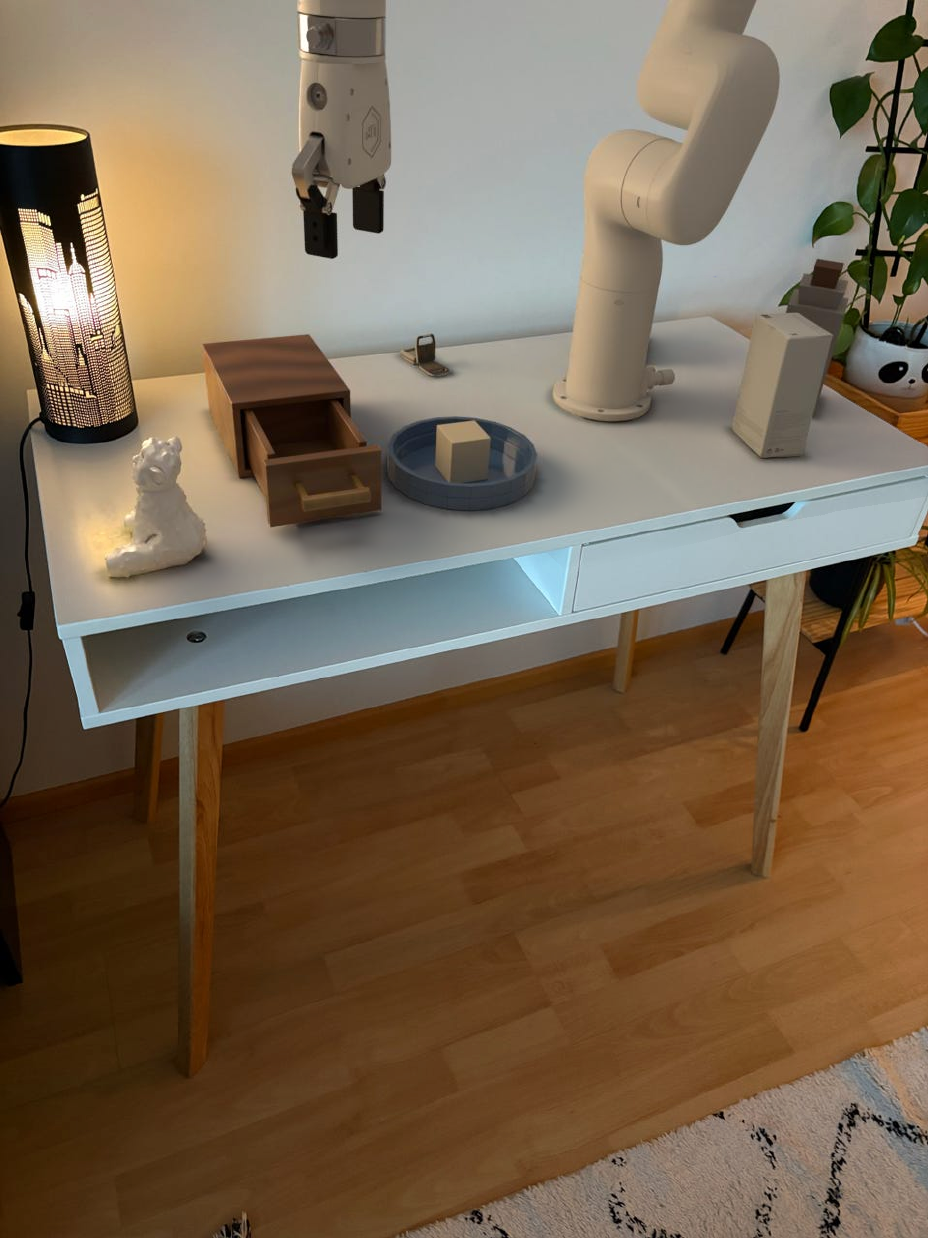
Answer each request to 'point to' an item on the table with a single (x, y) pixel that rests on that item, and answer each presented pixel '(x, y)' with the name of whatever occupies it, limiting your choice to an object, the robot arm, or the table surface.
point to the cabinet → (265, 383)
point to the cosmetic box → (780, 384)
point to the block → (462, 452)
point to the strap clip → (424, 357)
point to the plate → (427, 485)
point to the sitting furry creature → (158, 515)
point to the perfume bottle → (822, 302)
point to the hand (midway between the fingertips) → (345, 242)
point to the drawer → (311, 461)
